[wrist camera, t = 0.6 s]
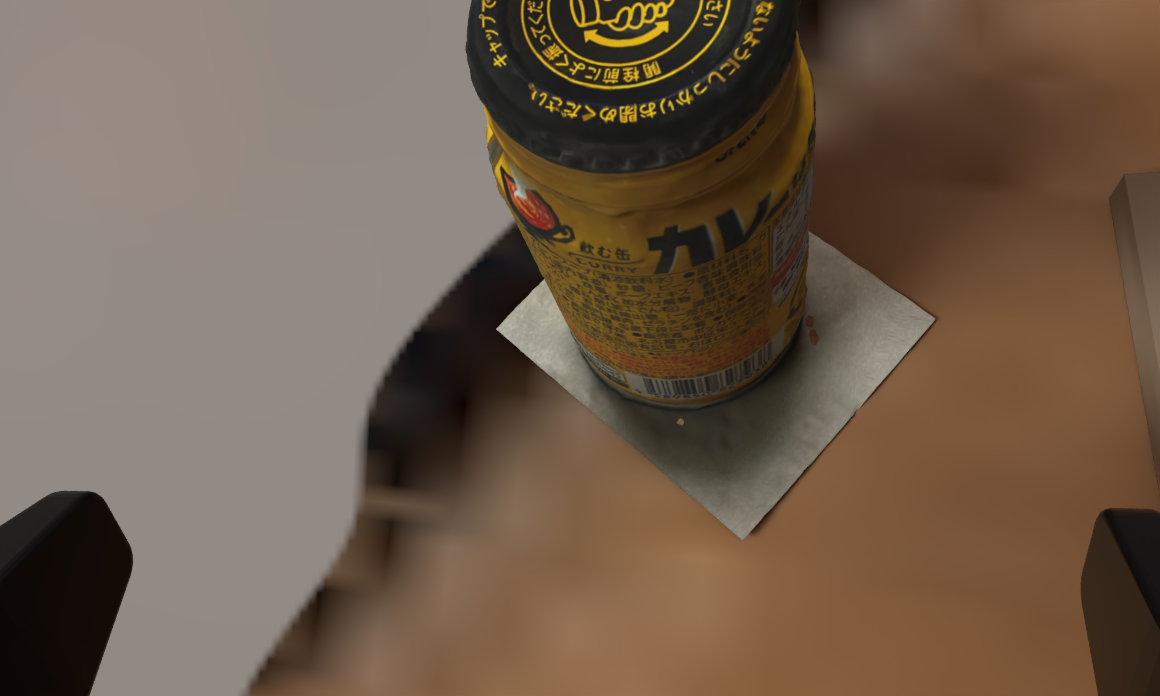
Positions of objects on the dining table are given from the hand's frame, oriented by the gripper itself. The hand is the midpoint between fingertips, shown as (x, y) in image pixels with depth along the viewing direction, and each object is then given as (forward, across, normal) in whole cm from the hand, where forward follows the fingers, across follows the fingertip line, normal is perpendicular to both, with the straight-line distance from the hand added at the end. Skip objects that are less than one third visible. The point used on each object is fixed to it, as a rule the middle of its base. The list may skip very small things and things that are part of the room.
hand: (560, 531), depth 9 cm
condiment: (+15, 0, +9) cm, 18 cm away
